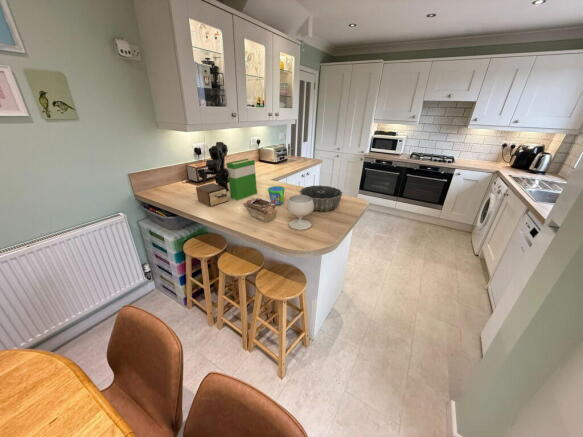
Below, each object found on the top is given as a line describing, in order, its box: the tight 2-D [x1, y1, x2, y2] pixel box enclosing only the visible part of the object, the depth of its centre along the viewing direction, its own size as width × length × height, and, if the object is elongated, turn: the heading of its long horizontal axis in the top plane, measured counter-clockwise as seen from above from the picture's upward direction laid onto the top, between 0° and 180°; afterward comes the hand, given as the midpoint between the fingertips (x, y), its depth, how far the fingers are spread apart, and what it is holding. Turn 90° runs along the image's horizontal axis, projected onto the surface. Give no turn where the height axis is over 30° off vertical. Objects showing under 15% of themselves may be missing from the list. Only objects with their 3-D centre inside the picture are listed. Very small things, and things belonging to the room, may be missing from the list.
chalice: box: [286, 194, 314, 231], centre depth 121 cm, size 14×14×15 cm
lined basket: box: [242, 197, 277, 223], centre depth 131 cm, size 13×20×10 cm, turn 43°
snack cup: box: [267, 185, 286, 206], centre depth 150 cm, size 16×10×10 cm
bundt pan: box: [299, 184, 344, 212], centre depth 145 cm, size 26×26×10 cm
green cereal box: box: [226, 158, 258, 201], centre depth 160 cm, size 18×7×24 cm, turn 141°
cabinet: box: [195, 182, 227, 207], centre depth 154 cm, size 15×13×10 cm
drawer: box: [209, 189, 228, 207], centre depth 151 cm, size 18×11×8 cm, turn 48°
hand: (210, 183), depth 144 cm, fingers open, 9 cm apart
